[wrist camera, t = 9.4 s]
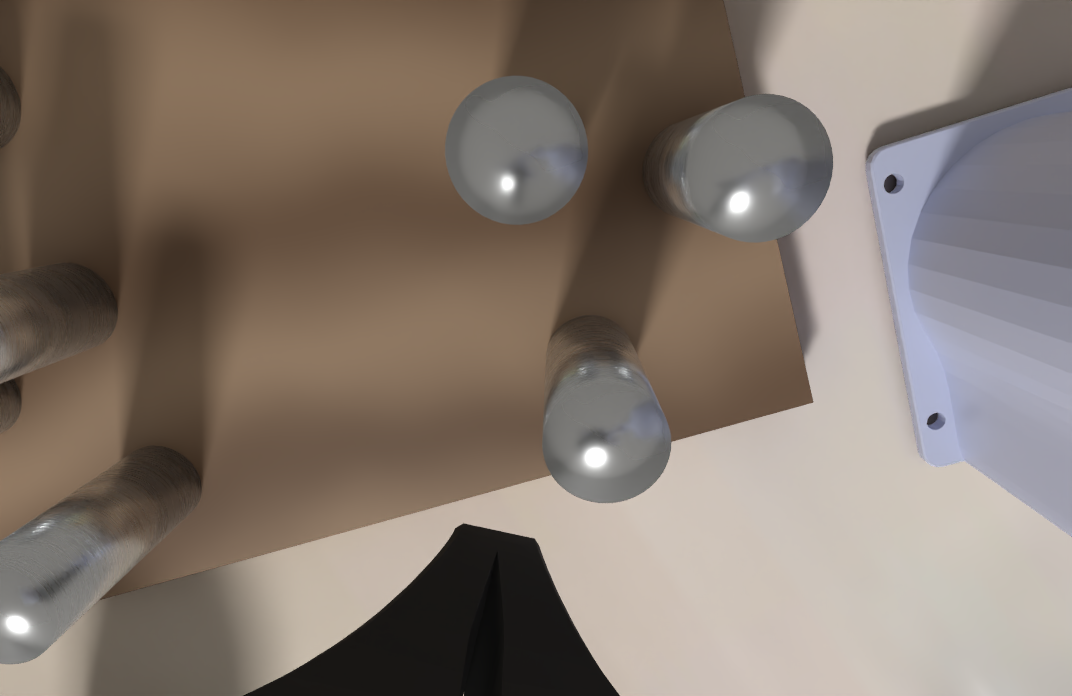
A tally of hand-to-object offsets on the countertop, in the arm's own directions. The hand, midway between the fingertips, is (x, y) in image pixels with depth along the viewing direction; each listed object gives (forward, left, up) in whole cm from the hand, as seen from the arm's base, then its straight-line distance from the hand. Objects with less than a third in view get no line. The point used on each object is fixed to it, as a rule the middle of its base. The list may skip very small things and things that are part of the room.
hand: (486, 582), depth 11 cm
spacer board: (+6, +4, -9) cm, 12 cm away
